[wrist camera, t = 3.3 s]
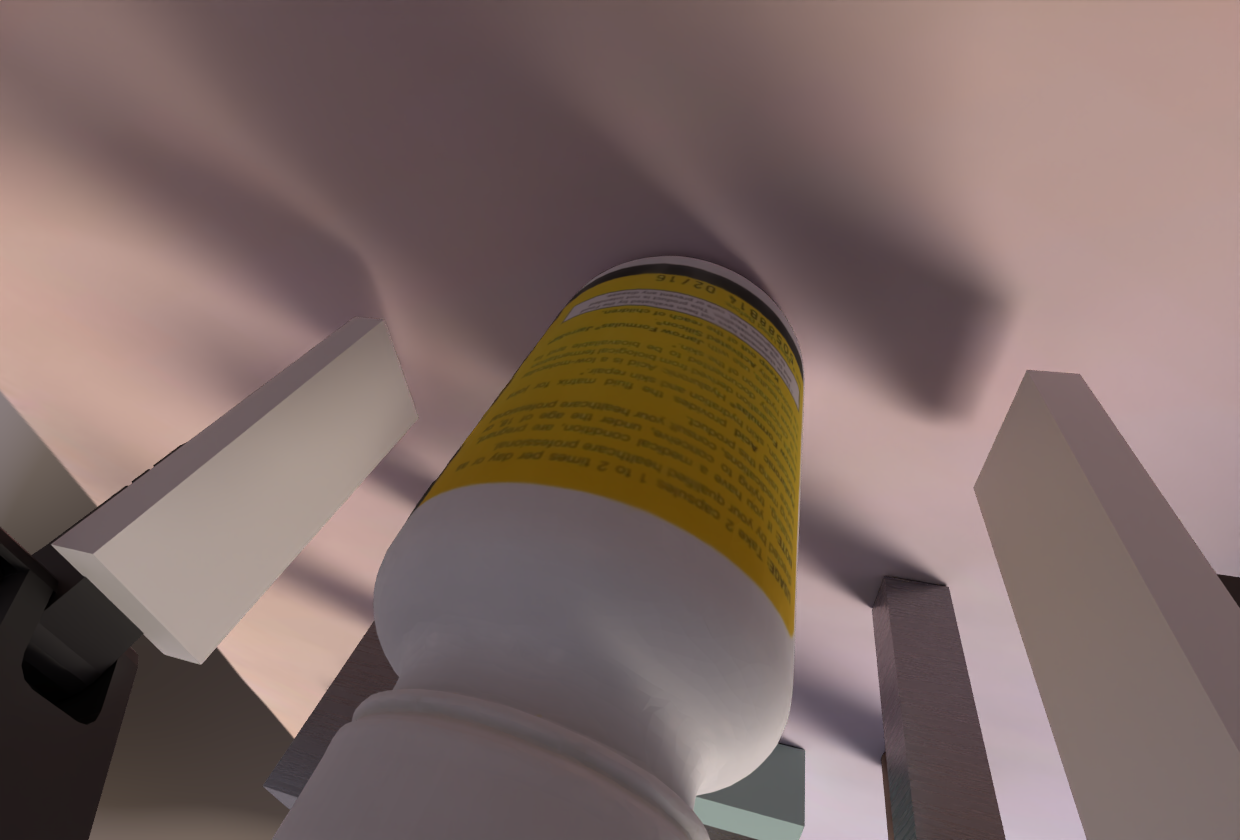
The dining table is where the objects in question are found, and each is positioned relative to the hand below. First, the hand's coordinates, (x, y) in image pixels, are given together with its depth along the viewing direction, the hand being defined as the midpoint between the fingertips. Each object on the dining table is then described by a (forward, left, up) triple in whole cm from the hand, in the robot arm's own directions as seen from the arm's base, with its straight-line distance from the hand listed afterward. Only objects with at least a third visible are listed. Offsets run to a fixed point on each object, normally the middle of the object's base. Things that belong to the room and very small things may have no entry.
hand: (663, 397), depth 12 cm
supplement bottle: (0, 0, -1) cm, 1 cm away
